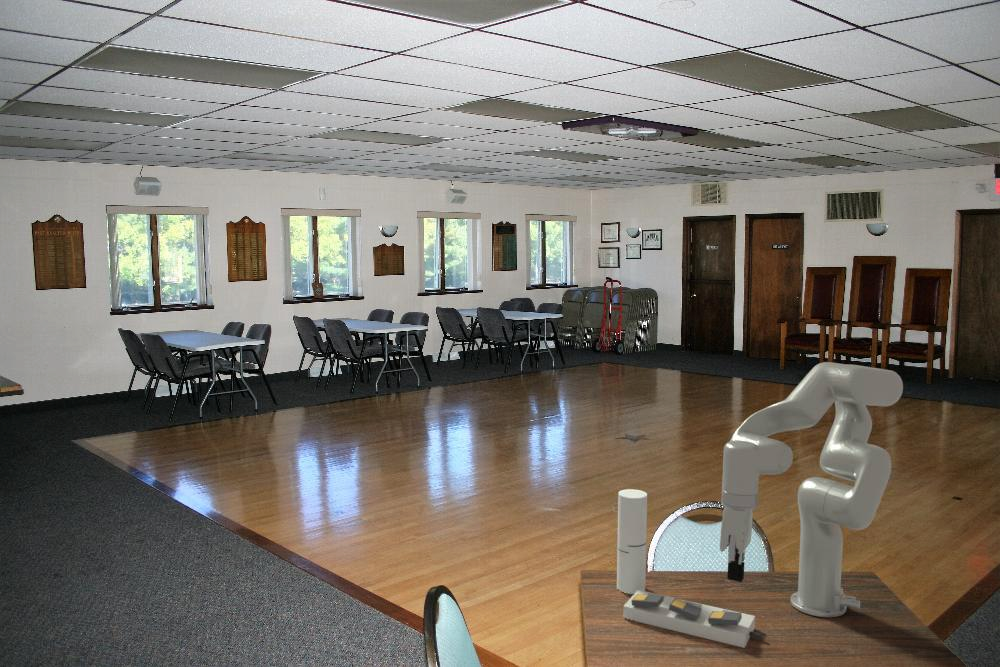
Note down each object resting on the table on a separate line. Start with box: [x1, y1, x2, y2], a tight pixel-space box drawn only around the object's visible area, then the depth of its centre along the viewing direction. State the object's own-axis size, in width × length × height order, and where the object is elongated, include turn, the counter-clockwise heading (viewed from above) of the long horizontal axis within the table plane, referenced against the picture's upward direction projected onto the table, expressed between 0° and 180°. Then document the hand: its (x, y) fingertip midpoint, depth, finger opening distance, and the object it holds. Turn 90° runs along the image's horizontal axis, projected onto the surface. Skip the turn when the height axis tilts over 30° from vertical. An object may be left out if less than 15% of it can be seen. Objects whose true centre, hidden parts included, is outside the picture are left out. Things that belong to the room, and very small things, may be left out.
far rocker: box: [631, 594, 664, 607], centre depth 188 cm, size 6×4×1 cm, turn 60°
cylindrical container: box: [616, 488, 648, 595], centre depth 203 cm, size 7×7×25 cm
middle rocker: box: [669, 597, 702, 620], centre depth 184 cm, size 6×4×1 cm, turn 61°
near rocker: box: [708, 611, 742, 626], centre depth 179 cm, size 6×4×1 cm, turn 60°
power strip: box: [622, 590, 765, 649], centre depth 185 cm, size 31×10×3 cm, turn 60°
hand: (735, 579), depth 177 cm, fingers closed
